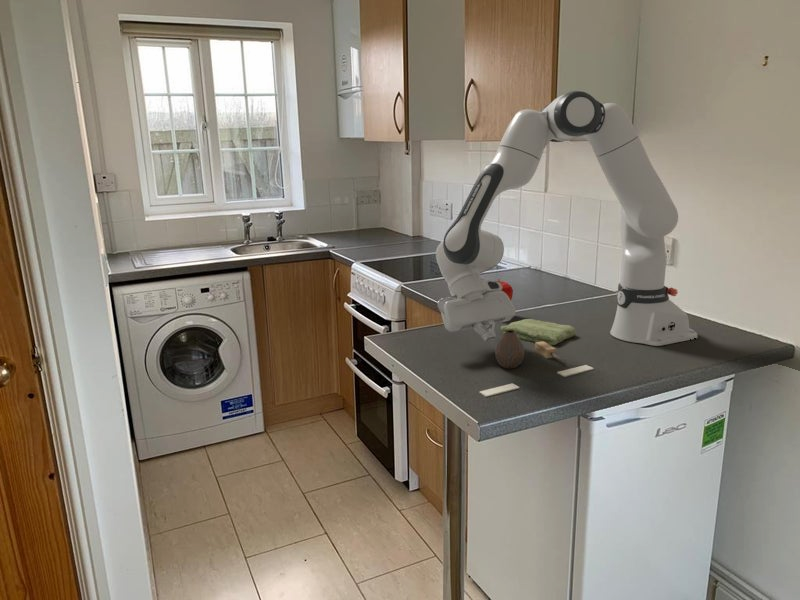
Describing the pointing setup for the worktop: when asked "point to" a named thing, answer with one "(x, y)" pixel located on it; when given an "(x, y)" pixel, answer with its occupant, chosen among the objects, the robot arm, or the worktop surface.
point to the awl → (547, 350)
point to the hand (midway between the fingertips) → (490, 339)
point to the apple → (506, 289)
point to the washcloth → (540, 331)
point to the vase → (509, 350)
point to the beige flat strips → (513, 387)
